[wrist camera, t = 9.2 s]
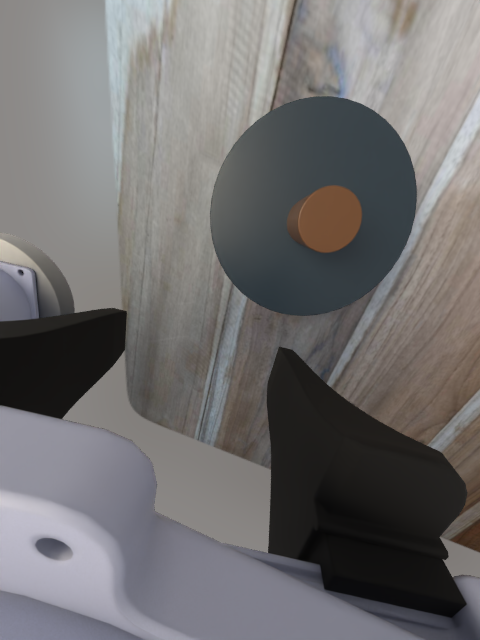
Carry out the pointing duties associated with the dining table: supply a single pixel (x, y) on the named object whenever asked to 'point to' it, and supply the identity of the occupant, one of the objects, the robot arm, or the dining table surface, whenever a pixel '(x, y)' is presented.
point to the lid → (313, 206)
